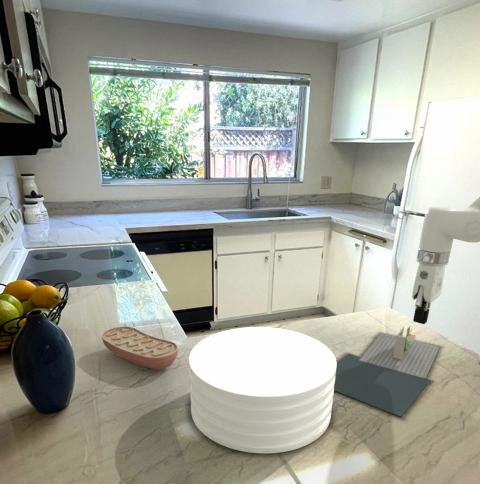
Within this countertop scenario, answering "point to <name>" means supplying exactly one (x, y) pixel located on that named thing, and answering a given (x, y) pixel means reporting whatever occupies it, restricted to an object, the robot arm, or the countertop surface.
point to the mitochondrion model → (140, 347)
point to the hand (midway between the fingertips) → (419, 322)
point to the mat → (377, 385)
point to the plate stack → (261, 388)
